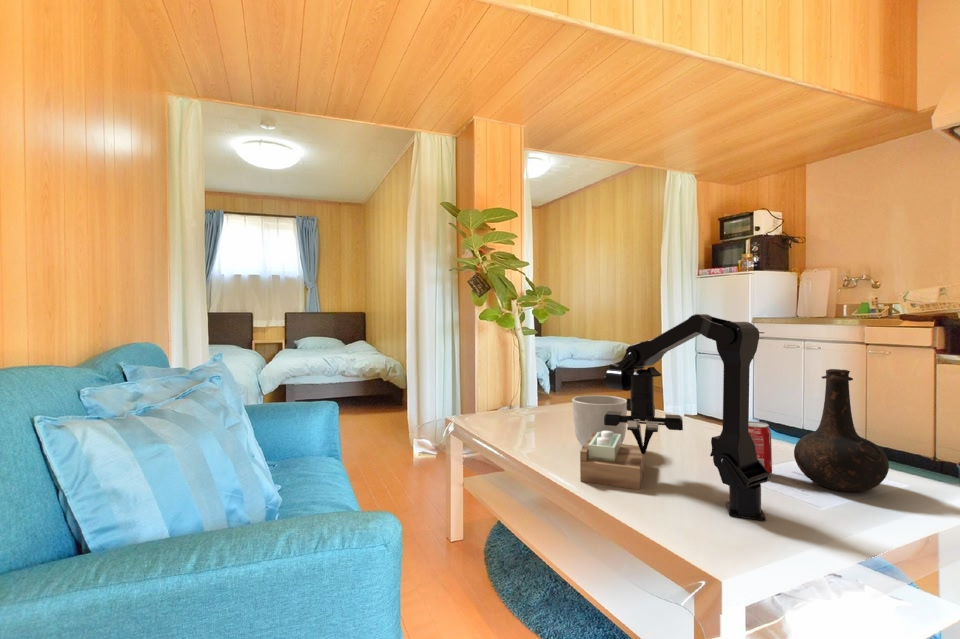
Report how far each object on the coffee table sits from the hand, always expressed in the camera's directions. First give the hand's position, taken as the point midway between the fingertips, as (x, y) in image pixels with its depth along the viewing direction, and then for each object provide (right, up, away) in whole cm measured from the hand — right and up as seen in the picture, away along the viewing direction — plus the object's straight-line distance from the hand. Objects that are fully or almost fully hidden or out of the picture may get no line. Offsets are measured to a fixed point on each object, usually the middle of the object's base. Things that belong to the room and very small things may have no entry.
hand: (643, 453), depth 114 cm
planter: (-4, -6, +26) cm, 27 cm away
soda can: (+30, -6, +1) cm, 30 cm away
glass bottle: (+45, -6, -7) cm, 45 cm away
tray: (-9, -1, +4) cm, 10 cm away
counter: (-7, -6, +3) cm, 9 cm away
